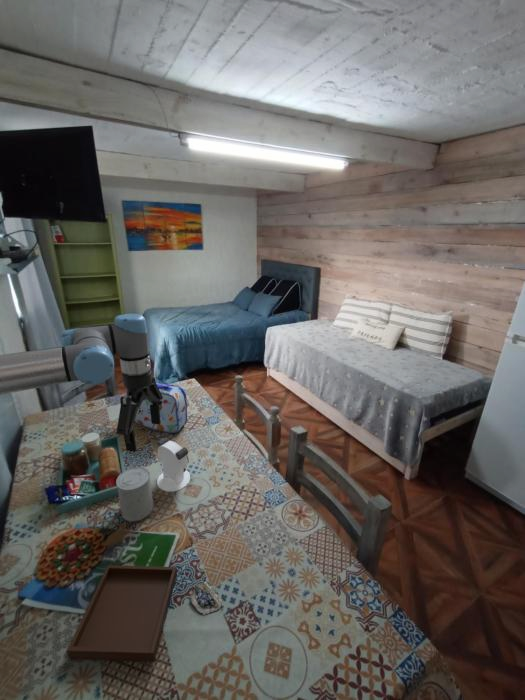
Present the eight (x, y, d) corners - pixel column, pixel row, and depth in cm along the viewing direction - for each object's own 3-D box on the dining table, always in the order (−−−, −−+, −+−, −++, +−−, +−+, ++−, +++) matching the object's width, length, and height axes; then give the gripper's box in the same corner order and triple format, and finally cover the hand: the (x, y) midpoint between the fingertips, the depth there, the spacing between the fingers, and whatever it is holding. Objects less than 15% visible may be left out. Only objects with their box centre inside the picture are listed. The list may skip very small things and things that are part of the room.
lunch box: (193, 425, 144) (191, 381, 136) (181, 438, 135) (178, 392, 127) (142, 414, 152) (137, 372, 144) (128, 426, 142) (121, 382, 134)
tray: (69, 659, 65) (66, 650, 64) (109, 573, 81) (107, 564, 80) (154, 661, 65) (153, 653, 64) (177, 574, 81) (176, 566, 80)
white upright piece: (198, 477, 114) (196, 443, 108) (173, 497, 105) (170, 461, 99) (175, 464, 120) (172, 430, 115) (150, 482, 111) (146, 446, 106)
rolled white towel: (122, 501, 103) (116, 470, 99) (152, 493, 106) (149, 464, 102) (120, 525, 95) (115, 493, 90) (154, 516, 98) (150, 485, 94)
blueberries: (200, 579, 81) (199, 573, 80) (228, 591, 78) (228, 586, 77) (185, 606, 75) (184, 600, 74) (214, 620, 72) (214, 615, 71)
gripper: (121, 393, 74) (132, 466, 81) (170, 355, 97) (175, 415, 104) (93, 389, 75) (106, 461, 83) (148, 353, 98) (154, 412, 106)
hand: (144, 436), depth 94 cm, fingers open, 13 cm apart
